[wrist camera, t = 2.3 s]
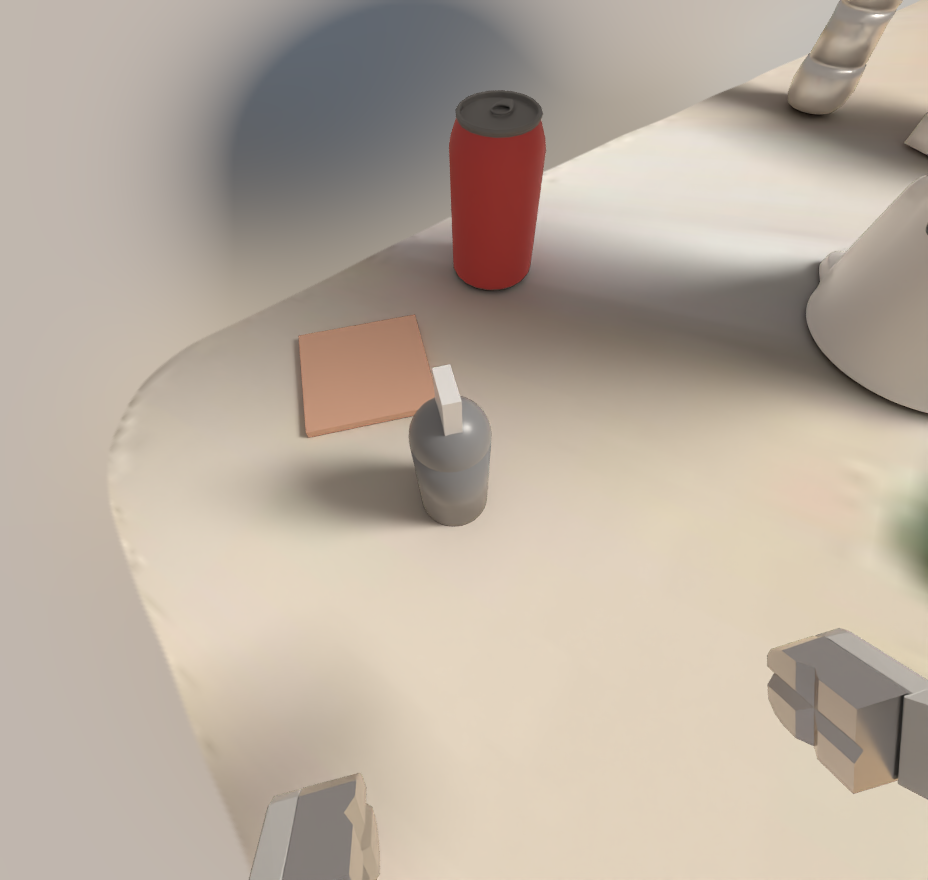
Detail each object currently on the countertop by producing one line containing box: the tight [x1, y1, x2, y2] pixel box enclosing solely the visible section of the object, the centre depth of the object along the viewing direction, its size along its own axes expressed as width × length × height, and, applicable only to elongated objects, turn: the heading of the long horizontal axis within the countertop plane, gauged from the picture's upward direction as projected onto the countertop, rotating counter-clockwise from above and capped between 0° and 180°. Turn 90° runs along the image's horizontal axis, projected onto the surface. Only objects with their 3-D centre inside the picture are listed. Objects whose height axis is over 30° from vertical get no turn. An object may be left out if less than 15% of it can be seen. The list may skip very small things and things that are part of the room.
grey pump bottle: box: [409, 364, 491, 526], centre depth 23 cm, size 4×4×11 cm
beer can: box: [449, 90, 546, 290], centre depth 34 cm, size 7×7×12 cm
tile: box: [299, 315, 435, 437], centre depth 33 cm, size 9×9×1 cm
